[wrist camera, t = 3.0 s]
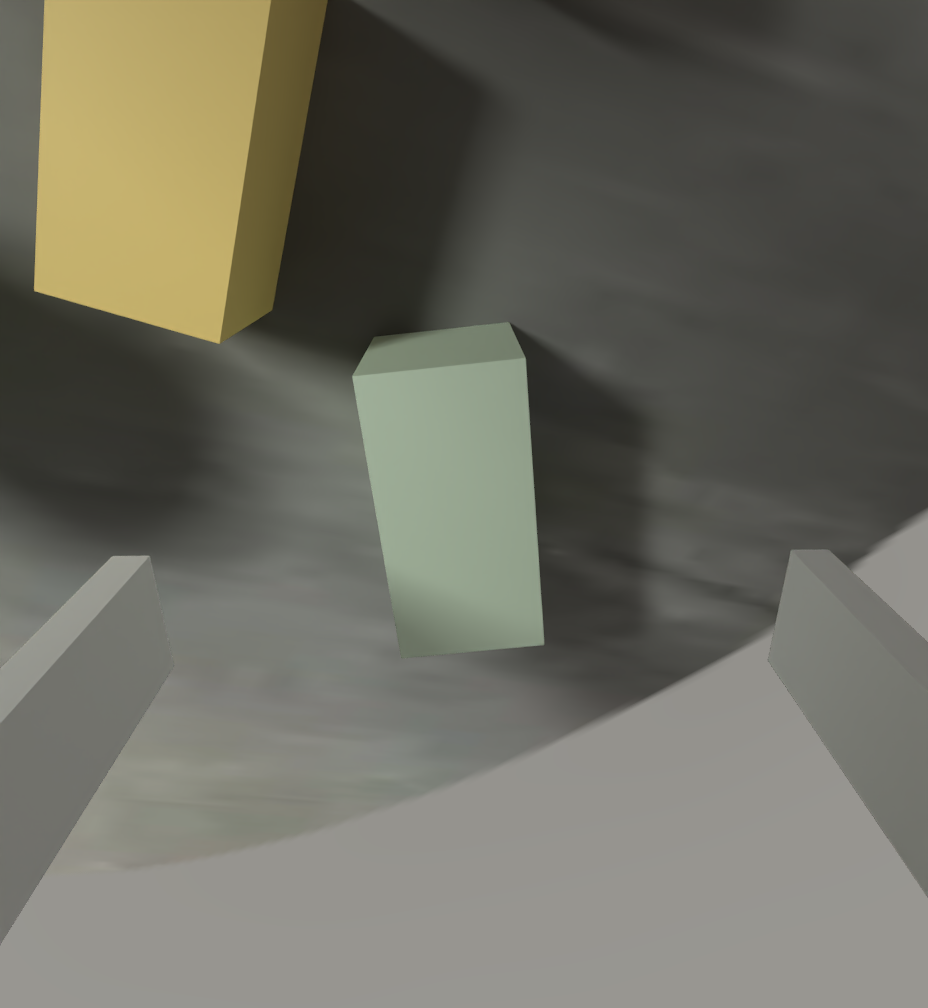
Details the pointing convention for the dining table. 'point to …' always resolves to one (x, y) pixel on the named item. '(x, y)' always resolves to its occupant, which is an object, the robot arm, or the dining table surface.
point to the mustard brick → (171, 155)
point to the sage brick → (453, 487)
